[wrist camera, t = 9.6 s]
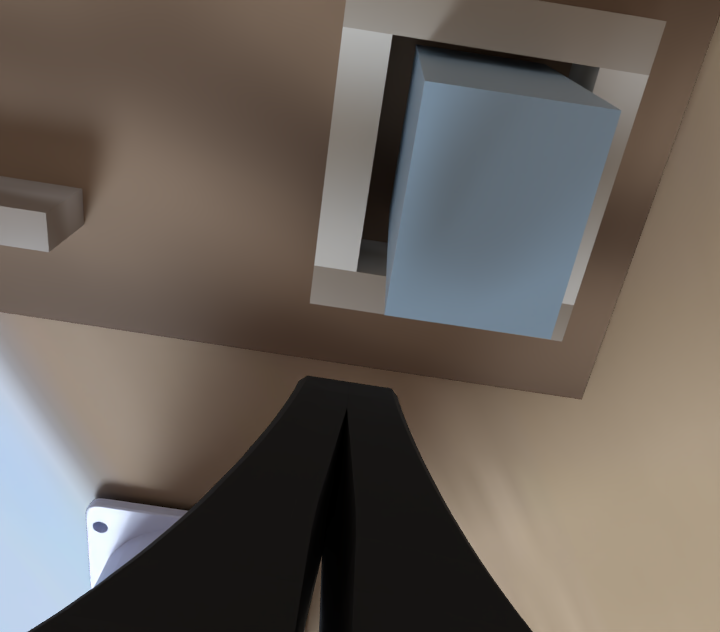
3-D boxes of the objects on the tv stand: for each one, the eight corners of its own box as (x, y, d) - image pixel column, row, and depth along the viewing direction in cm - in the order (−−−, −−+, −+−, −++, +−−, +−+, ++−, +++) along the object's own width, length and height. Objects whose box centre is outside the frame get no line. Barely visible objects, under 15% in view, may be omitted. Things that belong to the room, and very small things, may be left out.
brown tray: (576, 388, 20) (601, 446, 17) (-155, 277, 20) (-235, 321, 17) (755, -121, 14) (832, -142, 12) (-291, -294, 14) (-446, -354, 11)
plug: (504, 226, 17) (550, 339, 12) (389, 209, 17) (384, 314, 12) (544, 63, 15) (621, 110, 10) (416, 44, 15) (424, 80, 10)
